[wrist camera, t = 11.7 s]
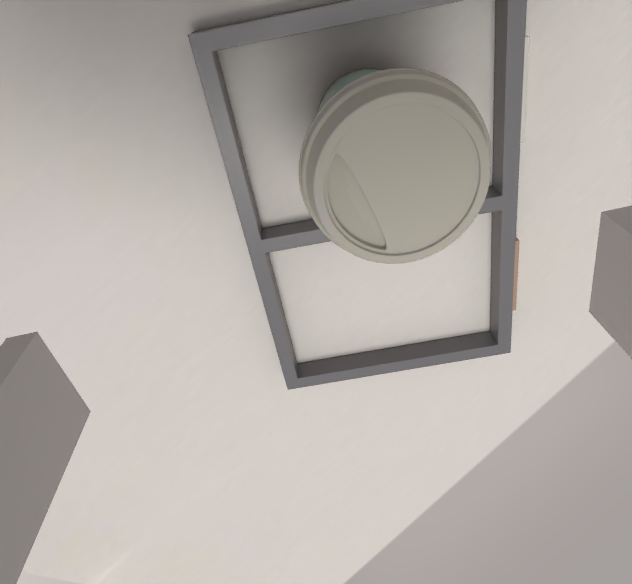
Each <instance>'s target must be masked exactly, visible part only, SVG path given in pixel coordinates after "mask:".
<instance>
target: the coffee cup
mask: <svg viewBox="0 0 632 584" xmlns="http://www.w3.org/2000/svg"><path fill="white" fill-rule="evenodd" d="M490 174H491V144H490V139H489V135H488V131H487V128H486V126H485V123H484V121H483V119H482V117H481V115H480V113H479V111H478V109H477V108H476V106H475V104H474V103H473V102H472V100H471V99H470V98H469V97H468V96H467V94H466V93H465V92H464V91H463V90H461V89H460V88H459V87H458V86H457V85H455V84H454V83H452V82H451V81H449V80H448V79H446V78H444V77H442V76H440V75H437V74H435V73H432V72H429V71H425V70H420V69H413V68H393V69H386V70H376V69H359V70H355V71H352V72H349V73H347V74H345V75H343V76H341V77H340V78H339V79H337V80H336V81H335V82H334V83H333V84H332V85H331V86H330V87H329V88H328V90H327V91H326V93H325V94H324V96H323V98H322V101H321V103H320V106H319V110H318V113H317V115H316V117H315V118H314V120H313V122H312V123H311V125H310V127H309V129H308V131H307V134H306V136H305V139H304V142H303V145H302V149H301V153H300V159H299V183H300V189H301V193H302V197H303V200H304V203H305V205H306V207H307V210H308V212H309V213H310V215H311V217H312V218H313V220H314V222H315V223H316V225H317V226H318V227H319V229H320V230H321V231H322V232H323V233H324V234H325V235H326V236H327V237H328V238H329V239H330V240H331V241H332V242H334V243H335V244H336V245H338V246H339V247H341V248H343V249H345V250H347V251H348V252H350V253H352V254H354V255H355V256H358V257H360V258H363V259H365V260H369V261H373V262H377V263H386V264H398V263H407V262H413V261H416V260H420V259H423V258H426V257H428V256H431V255H433V254H435V253H437V252H439V251H441V250H442V249H444V248H446V247H447V246H448V245H450V244H451V243H453V242H454V241H455V240H456V239H457V238H459V237H460V236H461V235H462V234H463V233H464V232H465V231H466V229H467V228H468V227H469V226H470V225H471V223H472V222H473V221H474V219H475V218H476V216H477V214H478V213H479V211H480V209H481V207H482V205H483V203H484V200H485V198H486V195H487V191H488V188H489V183H490Z"/></svg>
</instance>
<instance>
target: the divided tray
mask: <svg viewBox="0 0 632 584" xmlns="http://www.w3.org/2000/svg"><path fill="white" fill-rule="evenodd" d="M457 1H462V0H346V1H342V2H337V3H332V4H327V5H322V6H317V7H313V8H308V9H303V10H298V11H293V12H288V13H284V14H279V15H274V16H269V17H264V18H259V19H255V20H250V21H245V22H240V23H235V24H230V25H226V26H221V27H216V28H211V29H206V30H201V31H197V32H193V33H191V34H189V35H188V37H189V41H190V44H191V48H192V52H193V55H194V59H195V62H196V66H197V69H198V73H199V76H200V80H201V83H202V87H203V91H204V94H205V98H206V101H207V105H208V108H209V112H210V115H211V119H212V122H213V126H214V130H215V133H216V137H217V140H218V144H219V147H220V151H221V154H222V158H223V161H224V165H225V169H226V172H227V176H228V179H229V183H230V186H231V190H232V193H233V197H234V200H235V204H236V208H237V211H238V215H239V218H240V222H241V225H242V229H243V232H244V236H245V239H246V243H247V247H248V250H249V254H250V257H251V261H252V264H253V268H254V271H255V275H256V278H257V282H258V286H259V289H260V293H261V296H262V300H263V303H264V307H265V310H266V314H267V317H268V321H269V325H270V328H271V332H272V335H273V339H274V342H275V346H276V349H277V353H278V356H279V360H280V364H281V367H282V371H283V374H284V378H285V381H286V385H287V388H288V390H289V389H295V388H301V387H307V386H313V385H319V384H325V383H331V382H337V381H343V380H349V379H355V378H361V377H367V376H373V375H379V374H385V373H391V372H397V371H403V370H409V369H415V368H421V367H427V366H433V365H439V364H445V363H451V362H457V361H463V360H469V359H475V358H481V357H487V356H493V355H499V354H505V353H510V350H511V328H512V310H516V297H517V277H518V258H519V240H518V239H517V237H516V221H517V200H518V179H519V157H520V143H522V142H524V141H525V121H526V102H527V82H528V63H529V44H530V36H526V35H525V29H526V7H527V0H496V15H495V72H494V129H493V186H491V187H489V188H488V191H487V195H486V198H485V200H484V203H483V205H482V207H481V209H480V211H479V213H478V214H483V213H489V212H492V244H491V301H490V331H488V332H482V333H476V334H470V335H465V336H459V337H453V338H447V339H441V340H435V341H429V342H423V343H417V344H411V345H405V346H400V347H394V348H388V349H382V350H376V351H370V352H364V353H358V354H352V355H346V356H340V357H335V358H329V359H323V360H317V361H311V362H305V363H299V364H297V361H296V357H295V353H294V350H293V346H292V342H291V338H290V334H289V330H288V326H287V322H286V319H285V315H284V311H283V307H282V303H281V299H280V295H279V292H278V288H277V284H276V280H275V276H274V272H273V268H272V264H271V261H270V257H269V253H268V252H274V251H279V250H285V249H290V248H296V247H301V246H307V245H312V244H318V243H323V242H329V241H331V240H330V239H329V238H328V237H327V236H326V235H325V234H324V233H323V232H322V231H321V230H320V229H319V227H318V226H317V225H316V223H315V222H314V220H313V219H312V220H307V221H301V222H296V223H290V224H285V225H280V226H274V227H269V228H263V229H262V226H261V222H260V218H259V214H258V210H257V206H256V202H255V199H254V195H253V191H252V187H251V183H250V179H249V175H248V171H247V168H246V164H245V160H244V156H243V152H242V148H241V144H240V140H239V137H238V133H237V129H236V125H235V121H234V117H233V113H232V109H231V106H230V102H229V98H228V94H227V90H226V86H225V82H224V79H223V75H222V71H221V67H220V63H219V59H218V55H217V50H222V49H227V48H232V47H237V46H242V45H247V44H252V43H256V42H261V41H266V40H271V39H276V38H281V37H286V36H291V35H296V34H301V33H305V32H310V31H315V30H320V29H325V28H330V27H335V26H340V25H345V24H350V23H354V22H359V21H364V20H369V19H374V18H379V17H384V16H389V15H394V14H399V13H403V12H408V11H413V10H418V9H423V8H428V7H433V6H438V5H443V4H447V3H452V2H457Z"/></svg>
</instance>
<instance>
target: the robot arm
mask: <svg viewBox="0 0 632 584" xmlns="http://www.w3.org/2000/svg"><path fill="white" fill-rule="evenodd" d="M589 312H590V313H591V314H592V315H593V317H594V318H595V319H596V320H597V321H598V322H599V323H600V324H601V325H602V326H603V328H604V329H605V330H606V331H607V332H608V333H609V334H610V335H611V336H612V338H613V339H614V340H615V341H616V342H617V343H618V344H619V345H620V346H621V347H622V348H623V350H624V351H625V352H626V353H627V354H628V355H629V356H630V357H631V358H632V206H628V207H623V208H618V209H614V210H609V211H604V212H601V220H600V228H599V236H598V244H597V252H596V260H595V268H594V276H593V284H592V292H591V300H590V308H589ZM89 414H90V410H89V408H88V407H87V405H86V404H85V402H84V401H83V399H82V398H81V396H80V395H79V393H78V392H77V390H76V389H75V387H74V386H73V384H72V383H71V382H70V380H69V379H68V377H67V376H66V374H65V373H64V371H63V370H62V368H61V367H60V365H59V364H58V362H57V361H56V359H55V358H54V356H53V355H52V353H51V352H50V350H49V349H48V347H47V346H46V344H45V343H44V341H43V340H42V338H41V337H40V335H39V334H38V332H34V333H29V334H24V335H20V336H15V337H10V338H6V340H5V341H4V342H3V344H2V345H1V346H0V584H16V583H17V580H18V578H19V576H20V574H21V571H22V569H23V567H24V564H25V562H26V560H27V557H28V555H29V553H30V550H31V548H32V546H33V543H34V541H35V539H36V537H37V534H38V532H39V530H40V527H41V525H42V523H43V520H44V518H45V516H46V513H47V511H48V509H49V506H50V504H51V502H52V499H53V497H54V495H55V492H56V490H57V488H58V485H59V483H60V481H61V479H62V476H63V474H64V472H65V469H66V467H67V465H68V462H69V460H70V458H71V455H72V453H73V451H74V448H75V446H76V444H77V441H78V439H79V437H80V434H81V432H82V430H83V427H84V425H85V423H86V421H87V418H88V416H89Z"/></svg>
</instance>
